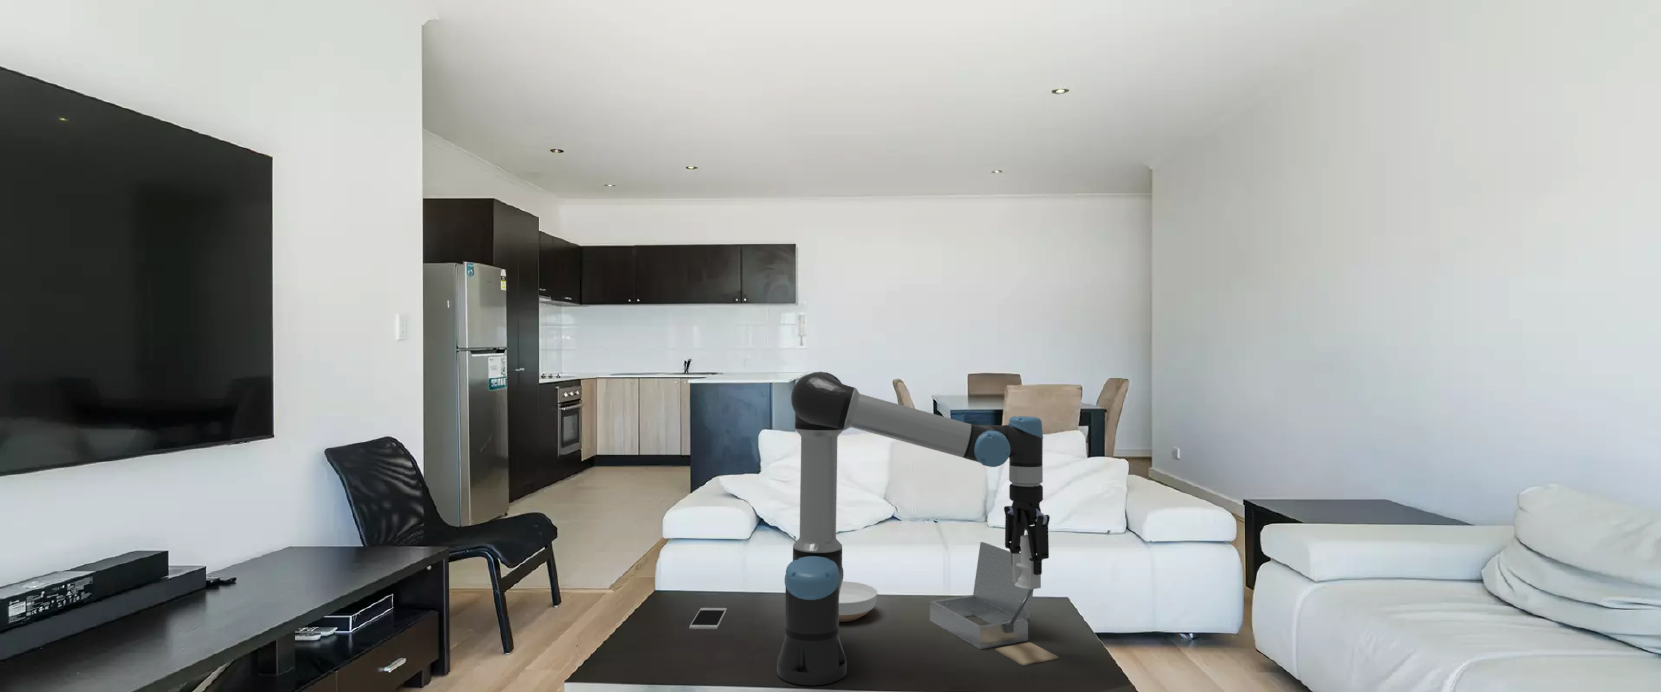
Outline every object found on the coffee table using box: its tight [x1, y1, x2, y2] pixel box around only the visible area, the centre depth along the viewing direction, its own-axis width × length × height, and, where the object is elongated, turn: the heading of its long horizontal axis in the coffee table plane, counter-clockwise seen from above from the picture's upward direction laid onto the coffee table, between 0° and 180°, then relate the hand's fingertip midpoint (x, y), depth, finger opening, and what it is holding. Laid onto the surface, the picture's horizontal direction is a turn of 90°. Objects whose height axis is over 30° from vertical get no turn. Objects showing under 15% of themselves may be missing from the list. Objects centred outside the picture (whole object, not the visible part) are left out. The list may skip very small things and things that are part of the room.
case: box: [929, 541, 1035, 650], centre depth 195 cm, size 17×23×19 cm
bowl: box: [839, 580, 878, 623], centre depth 206 cm, size 20×20×6 cm
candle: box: [1015, 532, 1032, 589], centre depth 179 cm, size 5×5×12 cm
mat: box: [995, 641, 1059, 666], centre depth 178 cm, size 10×10×1 cm
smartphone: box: [689, 607, 728, 630], centre depth 203 cm, size 7×16×1 cm, turn 178°
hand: (1026, 584), depth 179 cm, fingers closed on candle, 5 cm apart
